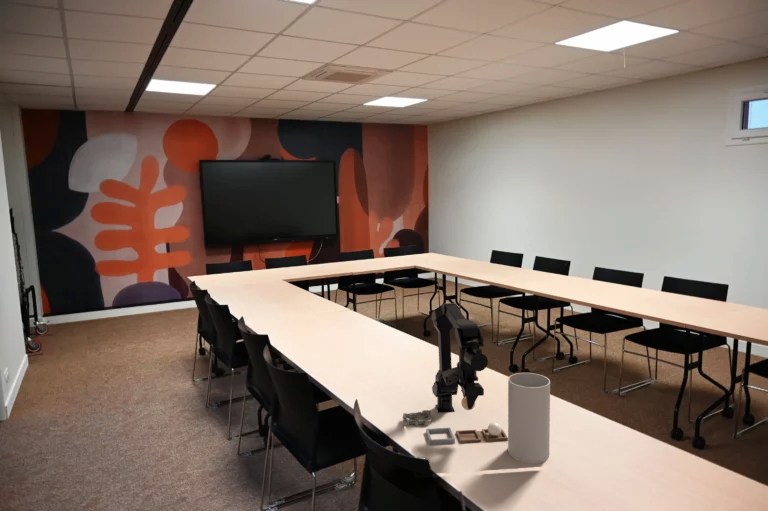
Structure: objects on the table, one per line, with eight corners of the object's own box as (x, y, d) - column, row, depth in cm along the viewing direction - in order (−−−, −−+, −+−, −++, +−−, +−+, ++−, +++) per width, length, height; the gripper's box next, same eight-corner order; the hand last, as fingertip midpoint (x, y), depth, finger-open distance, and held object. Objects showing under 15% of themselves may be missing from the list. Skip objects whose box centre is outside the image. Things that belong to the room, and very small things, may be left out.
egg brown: (460, 407, 170) (459, 394, 170) (473, 406, 171) (473, 393, 170) (463, 412, 166) (462, 399, 165) (476, 412, 166) (476, 398, 166)
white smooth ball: (486, 432, 172) (486, 420, 172) (499, 432, 173) (499, 419, 172) (489, 439, 168) (489, 426, 167) (503, 438, 168) (503, 425, 167)
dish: (426, 435, 174) (425, 428, 174) (450, 433, 175) (449, 427, 174) (429, 447, 166) (429, 440, 166) (454, 445, 166) (454, 439, 166)
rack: (455, 435, 174) (455, 430, 173) (501, 432, 174) (501, 427, 174) (460, 446, 166) (460, 441, 165) (508, 443, 166) (508, 438, 166)
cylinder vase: (557, 462, 155) (558, 384, 151) (521, 469, 151) (522, 390, 148) (534, 443, 166) (535, 370, 163) (500, 449, 163) (500, 375, 160)
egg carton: (432, 420, 186) (432, 409, 186) (431, 429, 179) (431, 418, 178) (403, 418, 188) (403, 408, 187) (401, 428, 180) (401, 417, 180)
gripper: (438, 353, 175) (439, 396, 177) (449, 372, 156) (449, 419, 158) (470, 351, 176) (470, 394, 178) (484, 370, 157) (484, 417, 159)
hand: (468, 405), depth 168 cm, fingers closed on egg brown, 5 cm apart
